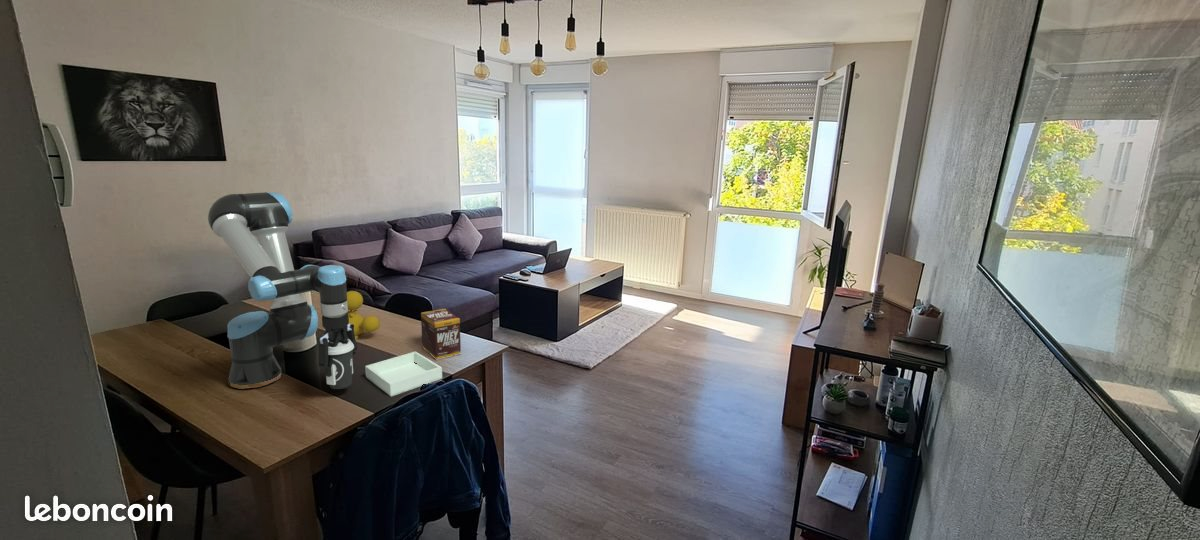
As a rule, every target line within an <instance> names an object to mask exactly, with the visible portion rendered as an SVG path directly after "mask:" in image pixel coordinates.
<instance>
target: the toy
mask: <svg viewBox="0 0 1200 540" xmlns="http://www.w3.org/2000/svg"><path fill="white" fill-rule="evenodd" d="M363 303H364V298H363V295H362V294H361V293H360V292H358V291H356V290H355V291H354V290H349V291H347V306H348V312H347V313H348V316H349V324H354V334H355V338H357V339H358V337H359V336H360V334H361V335H363V334H364V333H363V332H364V331H365V332H367V333H373V332H377V330H379V328H380V327H381V326H380V325H381V322H380V320H379V318H378V317H377V316H374V315H368V316H366V317H365V318H364V317H363V316H362V315H361V314H360V313H357V312H359V308H361V307H362V305H363ZM362 333H363V334H362Z"/></svg>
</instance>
